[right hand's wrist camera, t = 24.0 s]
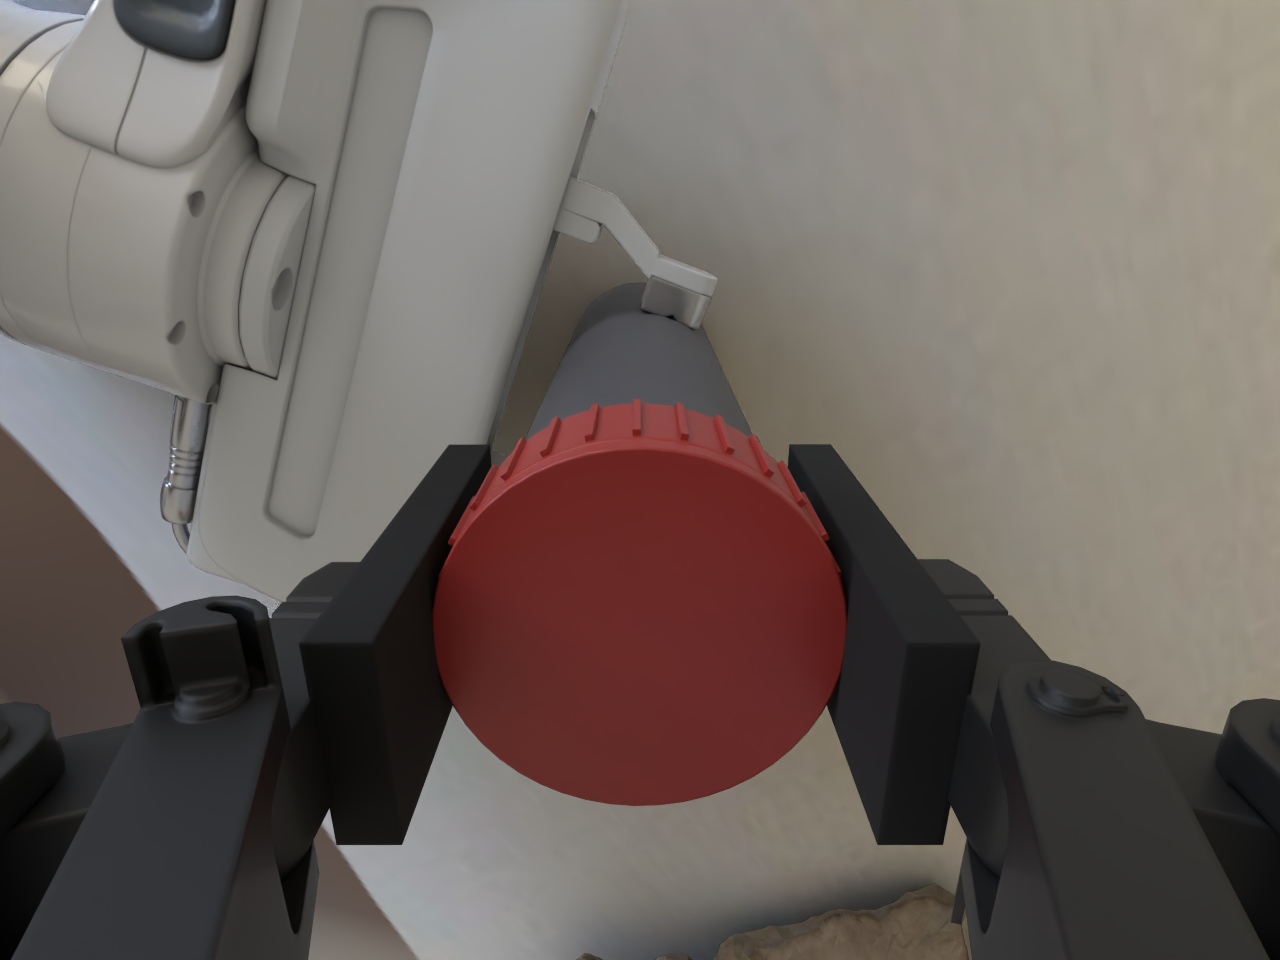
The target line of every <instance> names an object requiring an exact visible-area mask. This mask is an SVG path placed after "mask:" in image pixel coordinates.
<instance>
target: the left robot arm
mask: <svg viewBox="0 0 1280 960" xmlns="http://www.w3.org/2000/svg"><path fill="white" fill-rule="evenodd" d="M626 19H627V0H94V2H93V4H92V5H91V7H90V9H89V11H88V13H87V14H86V15H78V14H70V13H61V12H50V11H41V10H35V9H31V8H28V7H25V6H22V5H20V4H17V3H15V2H13V1H11V0H0V334H2V335H4V336H6V337H8V338H10V339H12V340H14V341H17V342H19V343H22V344H25V345H28V346H31V347H34V348H37V349H40V350H43V351H46V352H49V353H52V354H55V355H58V356H61V357H64V358H67V359H70V360H73V361H76V362H79V363H82V364H85V365H88V366H91V367H94V368H97V369H100V370H103V371H106V372H109V373H112V374H115V375H118V376H121V377H125V378H128V379H131V380H134V381H137V382H140V383H143V384H146V385H149V386H152V387H155V388H158V389H161V390H163V391H166V392H169V393H172V394H175V402H174V410H173V416H172V423H171V430H170V461H169V468H168V474H167V477H166V478H165V479H164V482H163V485H162V489H161V495H160V509H161V515H162V518H163V519H164V520H166V521H168V522H170V523H172V527H173V532H174V535H175V537H176V539H177V541H178V543H179V545H180V547H181V548H182V549H183V551H184V552H185V553H186V554H187V558H188V560H189V562H190V563H191V564H193V565H194V566H196V567H197V568H199V569H201V570H203V571H205V572H207V573H210V574H213V575H217V576H220V577H223V578H226V579H230V580H233V581H236V582H239V583H243V584H246V585H248V586H249V587H251V588H253V589H255V590H257V591H259V592H261V593H263V594H265V595H267V596H269V597H271V598H274V599H276V600H278V601H280V602H286V598H287V596H288V595H289V594H290V593H291V592H292V591H293V589H294V588H295V587H296V586H297V585H298V584H299V583H300V581H301V580H302V579H303V578H305V577H307V576H308V575H310V574H312V573H313V572H315V571H317V570H319V569H320V568H322V567H324V566H325V565H327V564H329V563H330V562H361V560H362V559H363V558H364V556H365V555H366V554H367V552H368V551H369V550H370V548H371V547H372V546H373V544H374V543H375V542H376V540H377V539H378V538H379V536H380V535H381V534H382V532H383V531H384V530H385V528H386V527H387V526H388V525H389V523H390V522H391V521H392V519H393V518H394V517H395V515H396V514H397V513H398V511H399V510H400V509H401V507H402V506H403V505H404V503H405V502H406V501H407V499H408V498H409V497H410V495H411V494H412V493H413V491H414V490H415V489H416V487H417V486H418V485H419V484H420V482H421V481H422V480H423V478H424V477H425V476H426V474H427V473H428V472H429V470H430V469H431V468H432V466H433V465H434V464H435V462H436V461H437V460H438V458H439V457H440V456H441V454H442V453H443V452H444V450H445V449H446V448H447V446H448V445H490V450H491V464H492V466H493V465H494V464H495V465H497V466H498V467H499V466H500V465H501V464H502V463H503V462H504V460H505V459H506V458H507V457H508V456H506V455H503V454H500V453H497V452H494V451H492V447H493V444H494V441H495V438H496V435H497V432H498V428H499V425H500V422H501V419H502V416H503V412H504V409H505V406H506V403H507V400H508V397H509V393H510V390H511V387H512V384H513V381H514V377H515V374H516V371H517V368H518V365H519V361H520V358H521V355H522V352H523V349H524V346H525V342H526V339H527V336H528V333H529V330H530V326H531V323H532V320H533V317H534V314H535V311H536V307H537V304H538V301H539V298H540V295H541V291H542V288H543V285H544V282H545V279H546V275H547V272H548V269H549V266H550V263H551V260H552V256H553V253H554V250H555V247H556V244H557V240H558V237H559V234H560V233H562V234H565V235H568V236H571V237H573V238H576V239H579V240H581V241H584V242H587V243H589V244H591V243H593V242H595V241H596V240H597V239H598V238H599V237H600V234H601V231H602V229H603V226H605V227H606V228H607V230H608V231H609V232H610V233H611V234H612V236H613V237H614V238H615V239H616V240H617V242H618V243H619V244H620V245H621V247H622V248H623V249H624V250H625V251H626V253H627V254H628V255H629V256H630V257H631V259H632V260H633V261H634V262H635V263H636V265H637V266H638V267H639V268H640V270H641V271H642V272H643V273H644V274H645V276H646V277H647V278H648V281H647V284H646V287H645V290H644V293H643V296H642V299H641V309H642V310H645V311H648V312H650V313H653V314H655V315H659V316H663V317H666V316H670V315H673V316H674V318H675V319H676V321H677V322H679V323H681V324H683V325H685V326H688V327H691V328H695V329H699V327H700V324H701V322H702V320H703V317H704V315H705V312H706V310H707V307H708V305H709V303H710V300H711V298H712V295H713V292H714V290H715V287H716V285H717V282H718V279H717V278H716V277H715V276H714V275H711V274H709V273H707V272H705V271H703V270H701V269H698V268H695V267H693V266H690V265H688V264H685V263H682V262H680V261H677V260H675V259H672V258H669V257H667V256H664V255H662V254H660V252H659V249H658V247H657V246H656V245H655V244H654V242H653V241H652V240H651V239H650V237H649V236H648V235H647V234H646V232H645V231H644V230H643V229H642V227H641V226H640V225H639V224H638V222H637V221H636V220H635V219H634V217H633V216H632V215H631V213H630V212H629V211H628V210H627V208H626V207H625V206H624V205H623V203H622V202H621V201H620V200H619V198H618V197H617V196H616V195H615V194H614V193H612V192H609V191H606V190H604V189H601V188H599V187H596V186H594V185H591V184H589V183H586V182H583V181H581V180H578V179H577V177H578V174H579V170H580V167H581V164H582V161H583V158H584V154H585V151H586V148H587V145H588V142H589V138H590V135H591V132H592V129H593V126H594V123H595V119H596V116H597V113H598V110H599V107H600V103H601V100H602V97H603V94H604V91H605V88H606V84H607V81H608V78H609V75H610V72H611V68H612V65H613V62H614V59H615V56H616V52H617V49H618V46H619V43H620V40H621V36H622V33H623V30H624V27H625V23H626ZM191 522H192V525H191V531H190V533H189V531H188V528H187V524H188V523H191Z"/></svg>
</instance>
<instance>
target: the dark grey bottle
mask: <svg viewBox="0 0 1280 960" xmlns="http://www.w3.org/2000/svg"><path fill="white" fill-rule="evenodd" d="M646 284H647V283H631V284H625V285H621V286H618V287H615V288H613V289H611V290H609V291H607V292H605V293H604V294H602V295H601V296H599V297H598V298H597V299H596V300H595V301H594V302H593V303H592V304H591V305H590V306H589V307H588V308H587V310H586V311H585V313H584V314H583V316H582V318H581V320H580V322H579V324H578V326H577V328H576V330H575V333H574V335H573V337H572V339H571V341H570V343H569V345H568V348H567V350H566V352H565V354H564V356H563V358H562V360H561V363H560V365H559V367H558V369H557V371H556V373H555V375H554V378H553V380H552V382H551V384H550V386H549V388H548V390H547V393H546V395H545V397H544V399H543V401H542V403H541V405H540V408H539V410H538V412H537V414H536V416H535V418H534V420H533V423H532V425H531V427H530V429H529V431H528V433H527V435H526V438H525V440H528V439H529V438H530V437H532V436H533V435H535V434H536V433H538V432H540V431H541V430H543V429H545V428H546V427H548V426H549V425H550V423H551V420H552V419H553V418H555V417H557V416H558V417H559V418H560V420H563V419H565V418H567V417H569V416H571V415H574V414H578V413H581V412H584V411H588V410H590V408H591V405H592V404H596V403H598V404H599V407H605V406H612V405H618V404H633V399H641V403H649V404H660V405H670V406H675V404H676V402H678V403H683V406H684V409H688V410H693V411H696V412H699V413H702V414H704V415H707V416H710V417H713V418H715V416H716V414H718V415H720V416H722V417H723V419H724V422H725V423H726V424H727V425H729V426H731V427H733V428H735V429H737V430H739V431H740V432H742V433H743V434H745V435H746V436H747V437H750V436H751V435H752V432H751V430H750V428H749V426H748V423H747V421H746V419H745V417H744V415H743V413H742V411H741V408H740V406H739V404H738V402H737V400H736V398H735V395H734V393H733V391H732V389H731V387H730V385H729V383H728V380H727V378H726V376H725V374H724V372H723V370H722V368H721V365H720V363H719V361H718V359H717V357H716V355H715V353H714V350H713V348H712V346H711V344H710V342H709V340H708V338H707V335H706V333H705V331H704V329H703V327H702V325H701V324H700V327H699V329H695V328H691V327H688V326H685V325H683V324H681V323H679V322H677V321H676V319H675V318H674V316H673V315H670V316H666V317H663V316H659V315H655V314H653V313H650V312H648V311H645V310H642V309H641V299H642V296H643V293H644V290H645V287H646Z"/></svg>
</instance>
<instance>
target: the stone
mask: <svg viewBox="0 0 1280 960" xmlns="http://www.w3.org/2000/svg"><path fill="white" fill-rule="evenodd" d="M954 899H955V896H954V895H953V894H951V893H950V892H948V891H946V890H944V889H943V888H941V887H940V886H938V885H936V884H931V885H927V886H925V887H923V888H921V889H919V890H916V891H910V892H905V893H904V894H903V895H902V896H901V897H900V898H899V899H898V900H897V901H896V902H893V903H890V904H888V905H885V906H883V907H881V908H879V909H876V910H864V909H862V910H857V911H852V910H846V909H840V908H839V909H835V910H831V911H826V912H825V913H823V914H822V915H818V916H811V917H810V918H808V919H807V920H805V921H804V922H801V923H795V924H789V925H784V926H775V925H770V926H767V927H765V928H763V929H758V930H754V931H749V932H744V933H737V934H733V935H731V936H730V937H729V938H727V939H726V940H725V941H724V942H723V943H722V944H720V947H719V950H718V954H717V955H716V956H715V957H714V959H713V960H969V959H968V952H967V947H966V945H965V941H964V936H963V931H962V925H959V924H955V923H951V917H952V910H953V904H954ZM964 918H965V909H964V914H963V919H962V921H963V920H964ZM577 960H602V959H600V958H599V957H595V956H593V955H591V954H587V953H584V954H583V955H582V956H581V957H580V958H578V959H577ZM655 960H692V959H691V958H690V957H689V956H687V955H686V956H684V955H673V954H670V955H666V956H662V957H658V958H657V959H655Z"/></svg>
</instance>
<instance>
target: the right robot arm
mask: <svg viewBox="0 0 1280 960" xmlns="http://www.w3.org/2000/svg"><path fill="white" fill-rule="evenodd" d="M491 467H492V464H491V450H490V445H448V446H447V448H446V449H445V450H444V452H443V453H442V454H441V456H440V457H439V458H438V460H437V461H436V462H435V464H434V465H433V466H432V468H431V469H430V470H429V472H428V473H427V474H426V476H425V477H424V478H423V480H422V481H421V482H420V484H419V485H418V486H417V487H416V489H415V490H414V491H413V493H412V494H411V495H410V497H409V498H408V499H407V501H406V502H405V503H404V505H403V506H402V507H401V509H400V510H399V511H398V513H397V514H396V515H395V517H394V518H393V519H392V521H391V522H390V523H389V525H388V526H387V527H386V528H385V530H384V531H383V532H382V534H381V535H380V536H379V538H378V539H377V540H376V542H375V543H374V544H373V546H372V547H371V548H370V550H369V551H368V552H367V554H366V555H365V556H364V558H363V559H362V560H361V562H330V563H329V564H327V565H325V566H324V567H322V568H320V569H319V570H317V571H315V572H313V573H312V574H310V575H308V576H307V577H305V578H303V579H302V580H301V581H300V583H299V584H298V585H297V586H296V587H295V588H294V589H293V591H292V592H291V593H290V594H289V595H288V596H287V598H286V602H282V603H281V604H280V606H279V607H278V608H277V609H276V610H275V611H274V612H273V614H272V618H269V616H268V611H267V607H266V606H264V605H263V604H261V603H260V602H259V601H257V600H256V599H251V598H246V597H240V596H218V597H208V598H203V599H198V600H193V601H188V602H184V603H181V604H178V605H175V606H173V607H170V608H167V609H164V610H162V611H159V612H157V613H155V614H153V615H151V616H149V617H148V618H146V619H144V620H142V621H141V622H139V623H137V624H135V625H134V626H133V627H132V628H131V629H130V630H129V631H128V632H127V633H126V634H125V635H124V636H123V637H122V638H121V640H122V643H123V647H124V651H125V654H126V658H127V661H128V665H129V668H130V671H131V675H132V679H133V682H134V686H135V689H136V693H137V696H138V700H139V703H140V707H141V709H140V711H139V713H138V715H137V717H136V719H135V721H134V723H131V724H127V725H123V726H119V727H113V728H108V729H104V730H98V731H93V732H88V733H83V734H78V735H73V736H67V737H62V738H58V735H57V732H56V729H55V726H54V724H53V720H52V717H51V715H50V713H49V712H48V711H47V710H45V709H44V708H42V707H41V706H40V705H38V704H29V703H20V702H13V703H5V704H0V960H308V956H309V948H310V940H311V933H312V925H313V917H314V909H315V902H316V894H317V886H318V878H319V867H318V860H317V854H316V849H315V844H314V837H315V836H316V833H317V831H318V829H319V827H320V826H321V824H322V822H323V820H324V818H325V816H326V814H327V812H328V810H329V808H330V812H331V818H332V823H333V828H334V834H335V839H336V844H337V845H402V843H403V841H404V838H405V835H406V832H407V830H408V827H409V824H410V821H411V819H412V816H413V813H414V810H415V808H416V805H417V802H418V799H419V797H420V794H421V791H422V788H423V786H424V783H425V780H426V777H427V775H428V772H429V769H430V766H431V764H432V761H433V758H434V755H435V753H436V750H437V747H438V744H439V742H440V739H441V736H442V734H443V731H444V728H445V725H446V723H447V720H448V717H449V714H450V712H451V709H452V706H453V705H452V703H451V700H450V698H449V696H448V694H447V692H446V690H445V688H444V686H443V683H442V680H441V677H440V674H439V671H438V666H437V658H436V650H435V641H434V631H433V621H432V610H433V603H434V596H435V590H436V587H437V584H438V581H439V577H438V576H439V574H440V572H441V570H442V568H443V566H444V564H445V561H446V559H447V557H448V555H449V553H450V551H451V549H452V547H453V546H452V545H449V544H448V542H449V540H450V537H451V536H452V534H453V532H454V530H455V528H456V527H457V525H458V523H459V521H460V519H461V517H462V516H463V514H464V512H465V510H466V508H467V506H468V505H469V503H470V501H471V499H472V497H473V496H476V494H477V492H478V491H479V489H480V487H481V485H482V483H483V481H484V479H485V478H486V476H487V474H488V472H489V470H490V468H491ZM788 469H789V471H790V473H791V475H792V477H793V479H794V480H795V482H796V484H797V486H798V488H799V490H800V492H801V493H802V492H805V494H806V496H807V498H808V500H809V502H810V503H811V505H812V507H813V509H814V511H815V513H816V514H817V516H818V518H819V520H820V522H821V524H822V525H823V527H824V529H825V531H826V533H827V535H828V537H829V540H827V541H825V542H826V544H827V545H828V547H829V549H830V551H831V553H832V555H833V557H834V559H835V561H836V562H837V564H838V566H839V568H840V570H841V582H842V586H843V590H844V594H845V599H846V606H847V627H846V637H845V646H844V654H843V662H842V670H841V673H840V676H839V678H838V681H837V684H836V686H835V689H834V691H833V694H832V696H831V698H830V699H829V701H828V703H827V707H828V710H829V713H830V715H831V718H832V721H833V724H834V726H835V729H836V732H837V735H838V737H839V740H840V743H841V746H842V748H843V751H844V754H845V757H846V759H847V762H848V765H849V768H850V770H851V773H852V776H853V779H854V781H855V784H856V787H857V790H858V792H859V795H860V798H861V801H862V803H863V806H864V809H865V812H866V814H867V817H868V820H869V823H870V825H871V828H872V831H873V834H874V836H875V839H876V842H877V845H943V842H944V837H945V831H946V826H947V821H948V815H949V810H950V805H951V807H952V809H953V811H954V813H955V815H956V817H957V819H958V821H959V822H960V824H961V826H962V828H963V830H964V832H965V834H966V836H967V839H966V844H965V849H964V854H963V859H962V864H961V869H960V874H959V879H958V884H957V889H956V894H955V899H954V904H953V910H952V917H951V923H955V924H959V925H961V924H962V919H963V914H964V909H965V908H966V915H967V923H968V931H969V938H970V946H971V954H972V960H1280V700H1273V699H1265V698H1263V699H1254V700H1246V701H1242V702H1240V703H1239V704H1237V705H1236V706H1234V707H1233V708H1232V709H1231V710H1230V713H1229V716H1228V719H1227V721H1226V724H1225V727H1224V730H1223V733H1222V735H1221V734H1215V733H1210V732H1205V731H1200V730H1195V729H1190V728H1184V727H1179V726H1174V725H1169V724H1164V723H1159V722H1155V721H1151V720H1147V719H1145V717H1144V716H1143V714H1142V712H1141V710H1140V708H1139V707H1138V705H1137V704H1136V703H1135V702H1134V701H1133V699H1132V698H1131V697H1130V696H1129V695H1128V693H1127V692H1126V691H1124V690H1123V689H1121V688H1120V687H1118V686H1117V685H1115V684H1114V683H1112V682H1111V681H1109V680H1108V679H1106V678H1105V677H1102V676H1100V675H1098V674H1095V673H1093V672H1090V671H1088V670H1086V669H1083V668H1081V667H1078V666H1073V665H1069V664H1065V663H1061V662H1056V661H1051V660H1050V659H1049V657H1048V656H1047V655H1046V654H1045V653H1044V652H1043V651H1042V649H1041V648H1040V647H1039V646H1038V645H1037V644H1036V643H1035V641H1034V640H1033V639H1032V638H1031V637H1030V636H1029V635H1028V633H1027V632H1026V631H1025V630H1024V629H1023V628H1022V627H1021V625H1020V624H1019V623H1018V622H1017V621H1016V620H1015V619H1014V618H1013V616H1008V611H1007V610H1006V608H1005V607H1004V606H1003V605H1002V604H1001V603H1000V602H999V600H998V599H994V595H993V594H992V592H991V591H990V590H989V589H988V588H987V587H986V586H985V585H984V583H983V582H982V581H981V580H980V579H979V578H978V577H977V576H976V575H974V574H973V573H971V572H969V571H968V570H966V569H964V568H962V567H961V566H959V565H957V564H956V563H954V562H952V561H950V560H949V559H917V558H916V557H915V556H914V554H913V553H912V552H911V550H910V549H909V548H908V546H907V545H906V544H905V542H904V541H903V540H902V538H901V537H900V536H899V534H898V533H897V532H896V530H895V529H894V528H893V526H892V525H891V524H890V522H889V521H888V520H887V518H886V517H885V516H884V515H883V513H882V512H881V511H880V509H879V508H878V507H877V505H876V504H875V503H874V501H873V500H872V499H871V497H870V496H869V495H868V493H867V492H866V491H865V489H864V488H863V487H862V485H861V484H860V483H859V481H858V480H857V479H856V477H855V476H854V475H853V473H852V472H851V471H850V470H849V468H848V467H847V466H846V464H845V463H844V462H843V460H842V459H841V458H840V456H839V455H838V454H837V452H836V451H835V450H834V448H833V447H832V446H831V445H791V444H790V445H789V458H788Z"/></svg>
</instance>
